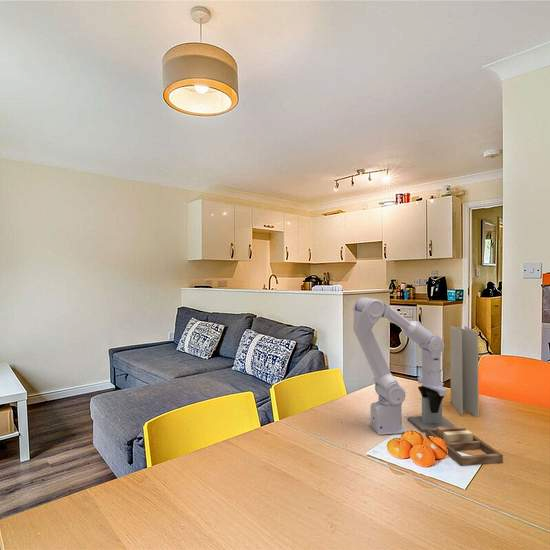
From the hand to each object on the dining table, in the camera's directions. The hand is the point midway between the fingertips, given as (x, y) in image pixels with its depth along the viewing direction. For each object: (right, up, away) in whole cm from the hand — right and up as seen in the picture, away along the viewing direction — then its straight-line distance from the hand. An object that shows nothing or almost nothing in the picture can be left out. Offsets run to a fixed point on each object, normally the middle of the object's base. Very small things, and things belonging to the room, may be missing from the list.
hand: (431, 410), depth 122 cm
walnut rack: (+2, -5, -16) cm, 17 cm away
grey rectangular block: (0, -4, 0) cm, 4 cm away
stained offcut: (+1, -5, -11) cm, 12 cm away
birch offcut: (+2, -5, -14) cm, 15 cm away
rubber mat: (0, -5, 0) cm, 5 cm away
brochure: (+18, -5, +13) cm, 23 cm away
